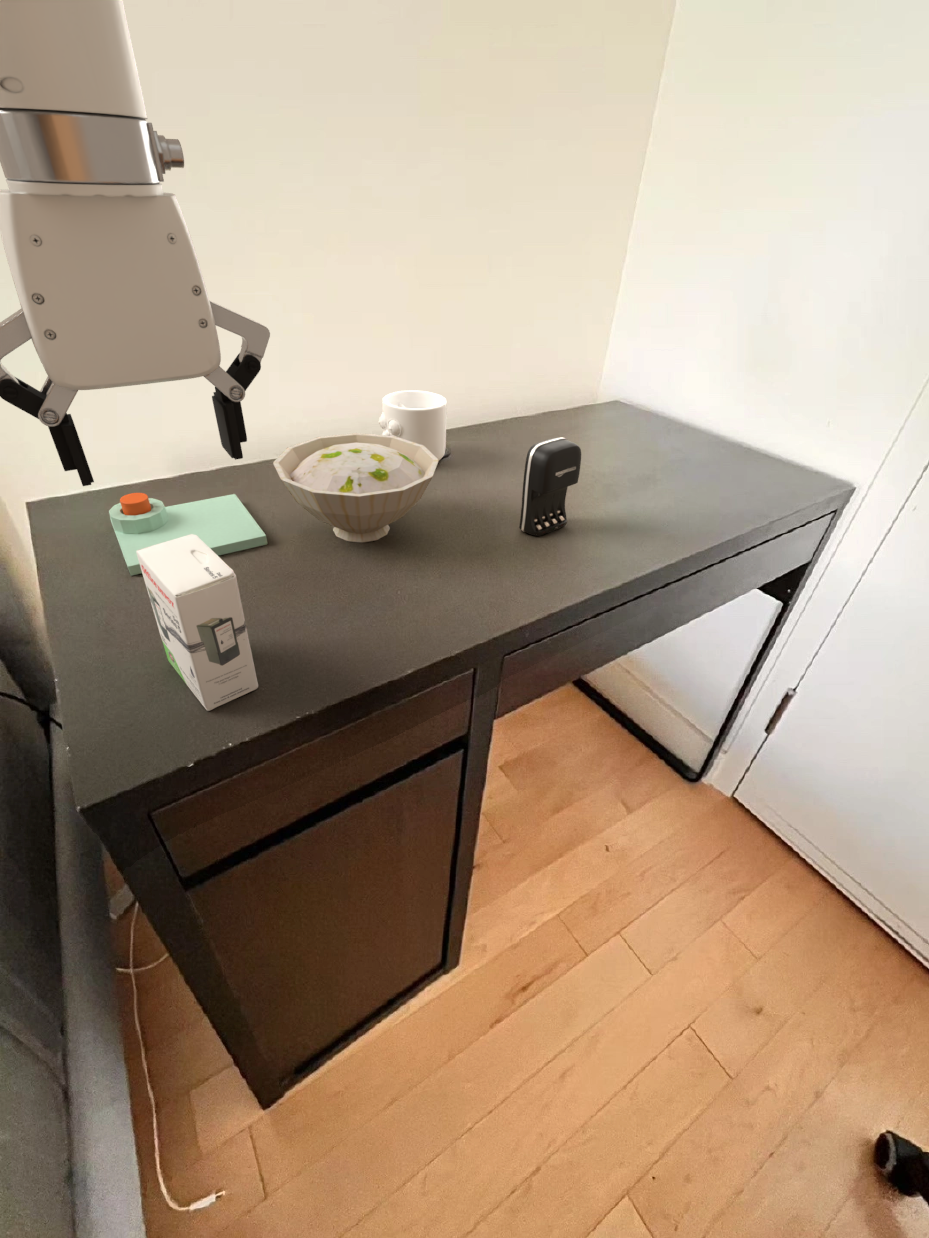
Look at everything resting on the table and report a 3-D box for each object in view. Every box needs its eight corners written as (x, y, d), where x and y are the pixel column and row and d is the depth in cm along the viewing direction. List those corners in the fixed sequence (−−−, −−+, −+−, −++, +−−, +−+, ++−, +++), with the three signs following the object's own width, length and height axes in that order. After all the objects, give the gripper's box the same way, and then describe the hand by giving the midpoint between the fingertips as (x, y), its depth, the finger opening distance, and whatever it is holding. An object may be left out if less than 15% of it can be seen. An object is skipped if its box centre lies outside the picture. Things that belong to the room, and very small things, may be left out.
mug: (362, 449, 99) (358, 392, 94) (416, 438, 104) (415, 383, 99) (401, 475, 92) (400, 414, 86) (457, 461, 97) (459, 403, 91)
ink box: (166, 661, 55) (130, 547, 49) (219, 640, 58) (192, 530, 51) (206, 714, 50) (172, 595, 44) (262, 688, 53) (239, 572, 46)
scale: (130, 576, 66) (122, 551, 65) (112, 526, 75) (105, 503, 73) (267, 544, 73) (264, 521, 72) (236, 502, 82) (232, 480, 80)
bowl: (334, 486, 87) (328, 415, 82) (460, 513, 82) (463, 440, 76) (249, 546, 73) (234, 465, 67) (396, 583, 68) (394, 500, 62)
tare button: (126, 519, 71) (121, 505, 70) (121, 509, 73) (117, 495, 72) (153, 514, 73) (150, 500, 72) (148, 504, 75) (145, 490, 74)
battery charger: (537, 542, 77) (548, 454, 70) (516, 530, 79) (525, 444, 72) (574, 527, 80) (589, 442, 74) (553, 516, 83) (565, 433, 76)
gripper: (226, 165, 39) (267, 429, 49) (-117, 152, 32) (16, 469, 42) (263, 168, 34) (301, 461, 44) (-134, 154, 27) (22, 513, 37)
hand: (163, 465), depth 43 cm, fingers open, 9 cm apart
